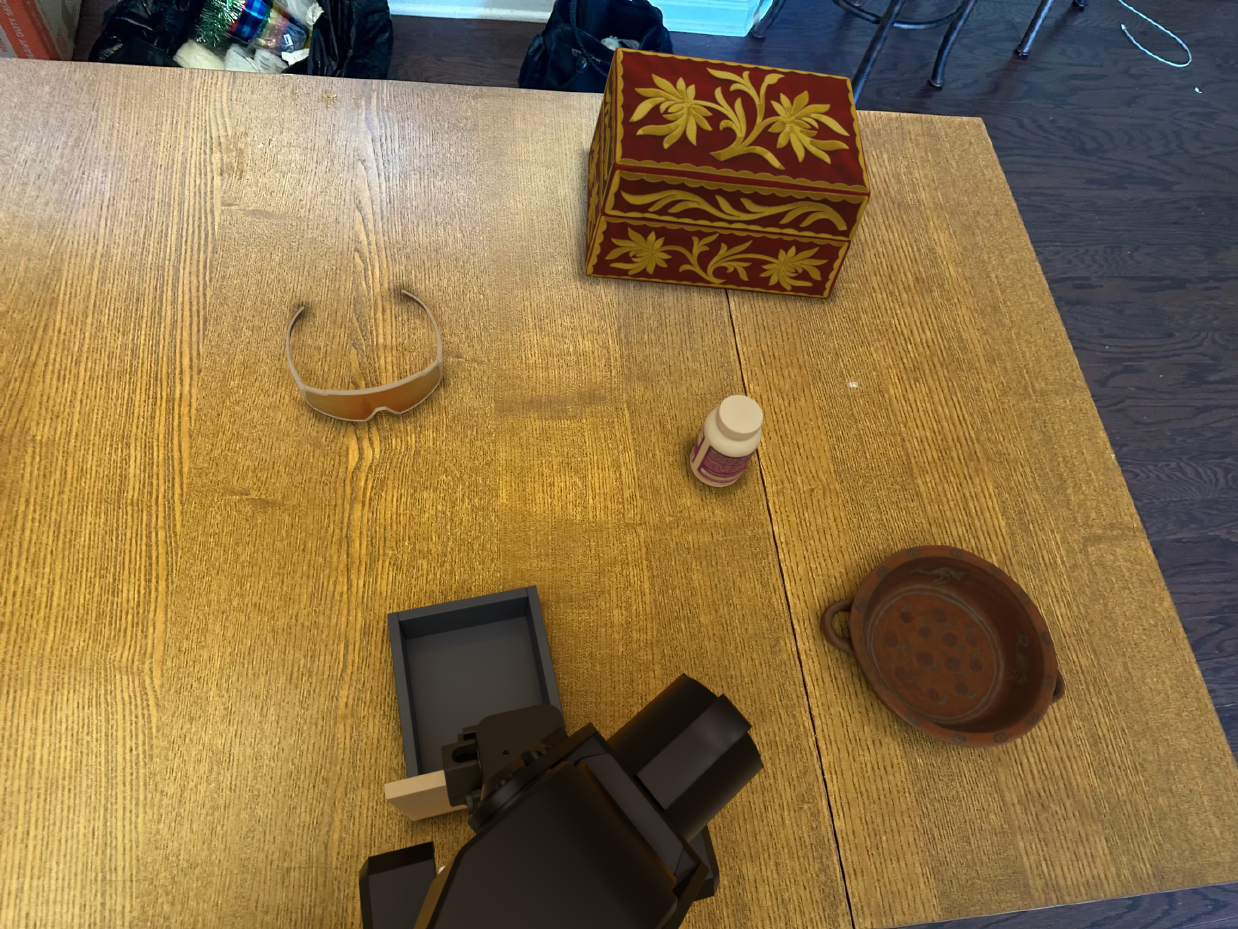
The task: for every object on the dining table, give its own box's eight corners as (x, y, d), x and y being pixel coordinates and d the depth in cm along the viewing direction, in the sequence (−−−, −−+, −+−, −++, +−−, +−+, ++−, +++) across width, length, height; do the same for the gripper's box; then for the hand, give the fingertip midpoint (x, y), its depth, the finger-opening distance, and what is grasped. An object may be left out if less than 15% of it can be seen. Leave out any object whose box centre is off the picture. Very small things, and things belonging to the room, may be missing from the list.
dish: (821, 536, 77) (841, 515, 73) (1043, 594, 77) (1076, 577, 73) (802, 720, 69) (823, 709, 64) (1050, 784, 69) (1088, 778, 65)
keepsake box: (395, 635, 67) (386, 613, 62) (532, 608, 70) (536, 584, 64) (419, 821, 61) (411, 815, 56) (568, 784, 64) (575, 775, 58)
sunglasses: (306, 442, 74) (293, 408, 70) (285, 327, 82) (272, 290, 78) (459, 410, 78) (456, 375, 74) (426, 302, 85) (420, 266, 81)
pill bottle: (752, 474, 79) (783, 425, 71) (709, 497, 77) (735, 450, 69) (721, 431, 81) (747, 378, 72) (677, 453, 79) (700, 402, 70)
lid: (383, 783, 42) (385, 799, 42) (599, 732, 45) (603, 747, 44) (410, 809, 56) (412, 821, 55) (575, 768, 58) (577, 780, 58)
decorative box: (584, 276, 87) (600, 169, 74) (588, 153, 96) (603, 37, 83) (828, 300, 91) (886, 201, 77) (811, 179, 99) (860, 71, 86)
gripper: (694, 664, 43) (645, 717, 57) (327, 744, 39) (370, 780, 52) (758, 895, 38) (687, 891, 52) (349, 1014, 34) (390, 976, 48)
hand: (535, 877), depth 51 cm, fingers closed
